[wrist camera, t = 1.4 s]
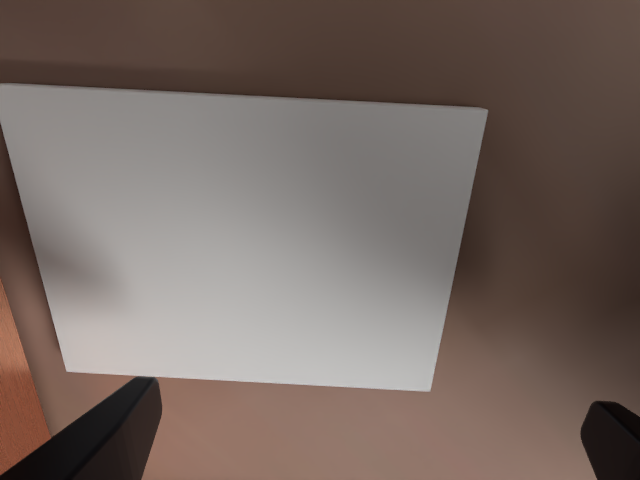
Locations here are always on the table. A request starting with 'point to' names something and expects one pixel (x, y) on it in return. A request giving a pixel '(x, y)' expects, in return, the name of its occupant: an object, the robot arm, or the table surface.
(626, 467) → the robot arm
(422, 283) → the mat
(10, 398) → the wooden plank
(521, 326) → the table surface
